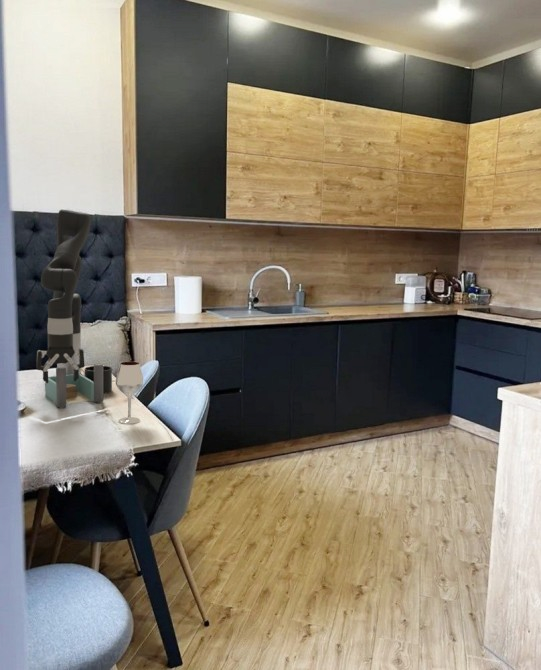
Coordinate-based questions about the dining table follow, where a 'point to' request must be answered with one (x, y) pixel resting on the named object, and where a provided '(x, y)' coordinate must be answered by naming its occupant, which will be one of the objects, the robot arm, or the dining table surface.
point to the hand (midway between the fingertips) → (60, 381)
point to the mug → (106, 377)
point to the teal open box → (81, 383)
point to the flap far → (97, 384)
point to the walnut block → (71, 391)
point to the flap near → (61, 387)
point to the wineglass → (129, 385)
